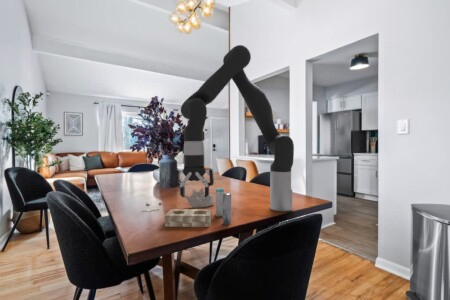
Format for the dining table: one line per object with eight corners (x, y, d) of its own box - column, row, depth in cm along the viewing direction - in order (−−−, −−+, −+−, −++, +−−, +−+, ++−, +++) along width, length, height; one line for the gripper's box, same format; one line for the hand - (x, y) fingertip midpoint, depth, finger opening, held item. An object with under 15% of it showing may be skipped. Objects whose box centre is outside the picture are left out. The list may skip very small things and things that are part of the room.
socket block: (211, 219, 93) (211, 209, 92) (209, 226, 85) (209, 215, 84) (170, 219, 93) (170, 209, 93) (165, 226, 85) (165, 215, 85)
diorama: (142, 214, 101) (142, 206, 101) (145, 200, 127) (145, 193, 127) (165, 212, 104) (164, 204, 104) (163, 198, 130) (163, 192, 129)
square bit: (224, 214, 100) (224, 188, 100) (223, 216, 97) (223, 189, 97) (216, 213, 100) (216, 188, 100) (215, 216, 97) (215, 189, 97)
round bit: (231, 221, 90) (231, 193, 90) (231, 224, 87) (231, 194, 86) (222, 221, 90) (222, 193, 90) (222, 224, 87) (222, 194, 87)
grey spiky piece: (211, 207, 107) (202, 186, 108) (190, 215, 110) (182, 195, 110) (218, 200, 120) (211, 181, 120) (200, 207, 122) (192, 189, 123)
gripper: (214, 152, 92) (214, 194, 92) (177, 153, 92) (178, 194, 93) (212, 153, 84) (212, 199, 85) (172, 154, 85) (173, 199, 85)
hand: (194, 196), depth 89 cm, fingers open, 8 cm apart
